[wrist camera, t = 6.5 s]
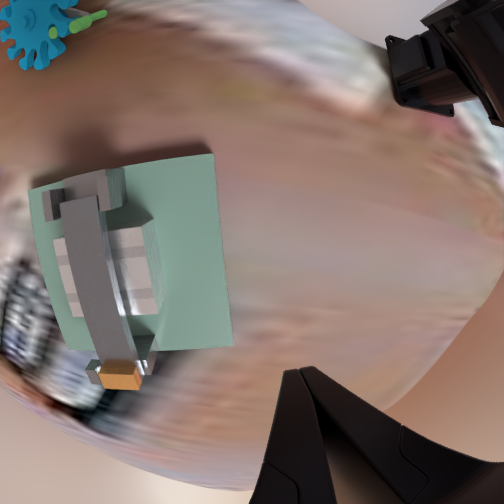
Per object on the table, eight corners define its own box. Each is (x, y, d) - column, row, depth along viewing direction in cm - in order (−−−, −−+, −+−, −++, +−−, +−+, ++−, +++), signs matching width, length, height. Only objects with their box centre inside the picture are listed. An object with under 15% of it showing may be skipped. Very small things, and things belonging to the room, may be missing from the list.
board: (214, 154, 17) (213, 153, 15) (233, 336, 20) (234, 345, 19) (36, 189, 16) (27, 190, 14) (74, 341, 19) (68, 349, 18)
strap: (66, 201, 12) (51, 204, 11) (102, 194, 12) (89, 196, 11) (112, 372, 15) (104, 388, 13) (144, 373, 15) (139, 389, 14)
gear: (-9, 61, 10) (4, -33, 2) (35, 34, 13) (57, -49, 5) (61, 93, 14) (92, -28, 6) (106, 62, 17) (147, -35, 9)
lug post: (158, 326, 19) (141, 372, 14) (162, 339, 20) (147, 386, 14) (111, 328, 19) (85, 369, 14) (115, 340, 19) (91, 383, 14)
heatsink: (154, 218, 16) (141, 226, 13) (166, 294, 17) (157, 313, 15) (74, 230, 16) (52, 239, 13) (90, 298, 17) (73, 316, 14)
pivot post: (140, 168, 16) (106, 165, 11) (143, 199, 17) (110, 209, 12) (86, 178, 16) (40, 182, 11) (89, 208, 17) (45, 222, 11)
